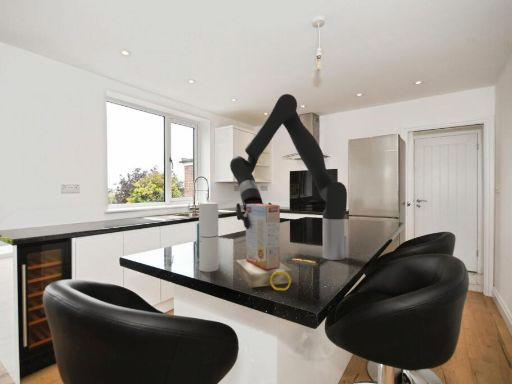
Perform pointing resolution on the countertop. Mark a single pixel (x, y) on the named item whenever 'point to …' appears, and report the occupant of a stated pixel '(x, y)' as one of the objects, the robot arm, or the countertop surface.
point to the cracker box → (263, 235)
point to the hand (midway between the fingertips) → (260, 227)
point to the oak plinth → (261, 274)
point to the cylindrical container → (208, 237)
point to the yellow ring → (280, 271)
